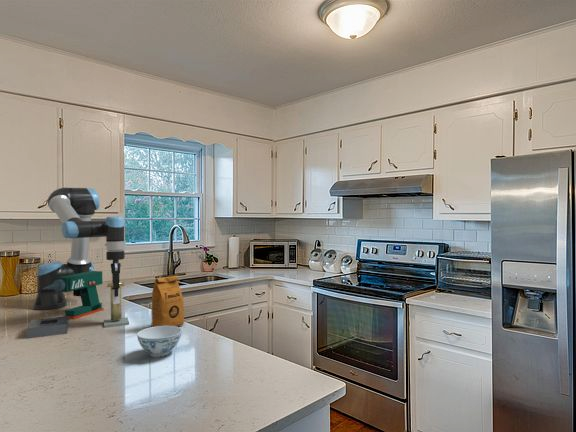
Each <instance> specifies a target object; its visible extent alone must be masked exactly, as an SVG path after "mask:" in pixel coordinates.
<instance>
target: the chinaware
mask: <svg viewBox="0 0 576 432" xmlns="http://www.w3.org/2000/svg"><path fill="white" fill-rule="evenodd" d="M182 333H183V329H182V328H181V327H180V326H178V327H176V326H156V327H147V328H144V329H141V330H139V331H138V332H137V334H136V336H137V341H138V343H139V345H140V347H141V348H142V350H144V351H145V352H147V353H149V355H151V356H150V357H153V358H161V357H160V356H162V357H166V356H169V354H171V351H172V350H173V349H174V348H175V347H176V346H178V343H179V341H180V339H181V336H182ZM165 355H166V356H165Z"/></svg>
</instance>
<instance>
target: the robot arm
mask: <svg viewBox="0 0 576 432" xmlns="http://www.w3.org/2000/svg"><path fill="white" fill-rule="evenodd" d="M47 205H48V207H49V210H51V211H52V212H53V213H55V215H56V216H57V218H59V220H60V221H61V223H62V224H61V233H62V237H63V238H65V239H71V244H70V245H71V246H70V247H71V249H70V257H69V258H68V259H67V260H66V263H63V261H54V262H53V261H52V262H47V263H43V264H41V265H39V266H38V267H37V269H36V281H37V284H36V285H37V294H36V296H35V299H34V303H33V309H34V310H35V311H36V310H37V311H48V310H55V309H60V308H64V307H66V306H67V305H68V302H67V298H66V296H65V292H56V291H55V290H54V289H43V288H45V287H47V286H50V285H52V284H53V282H54V281H55V280H56V277H62V276H67V275H72V274H78V273H83V272H89V271H95V265H94V262H92V260H91V258H89V250H90V238H102V237H103V238H106V239H105V240H106V241H105V242H106V243H104V246H105V247H106V248H105V249H106V255H105V256H106V260H108V261H112V263H110V269H111V271H110V273H111V276H112V277H111V279H112V281H111V283H113V288H111V287H110V291H111V290H113V304H120V289H119V288H120V283H119V282H120V274H121V265H122V263H121V262H119V261H121V260H125V257H126V255H125V248H126V247H125V244H126V243H125V218H124V216H106V218H105V220H92V217H93V216H94V215H95V214H96V212H95V211H98V210H99V209H100V205H101V204H100V196H99V193H98V192H97V190H95V188H88V187H61V188H57V189H55V190H53V191H52V192H51V193H50V194H49V195H48V197H47Z"/></svg>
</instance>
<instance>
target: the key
mask: <svg viewBox="0 0 576 432" xmlns="http://www.w3.org/2000/svg"><path fill="white" fill-rule="evenodd" d="M119 283H120V288H119V289H120V304H113V290H111V288H113V283H112V282H109V283H107V284H106V285H107V288H110V319H111V320H120V319H122V318H123V317H122V313H123V312H122V287H124V286H125V282H124V281H119Z"/></svg>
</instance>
